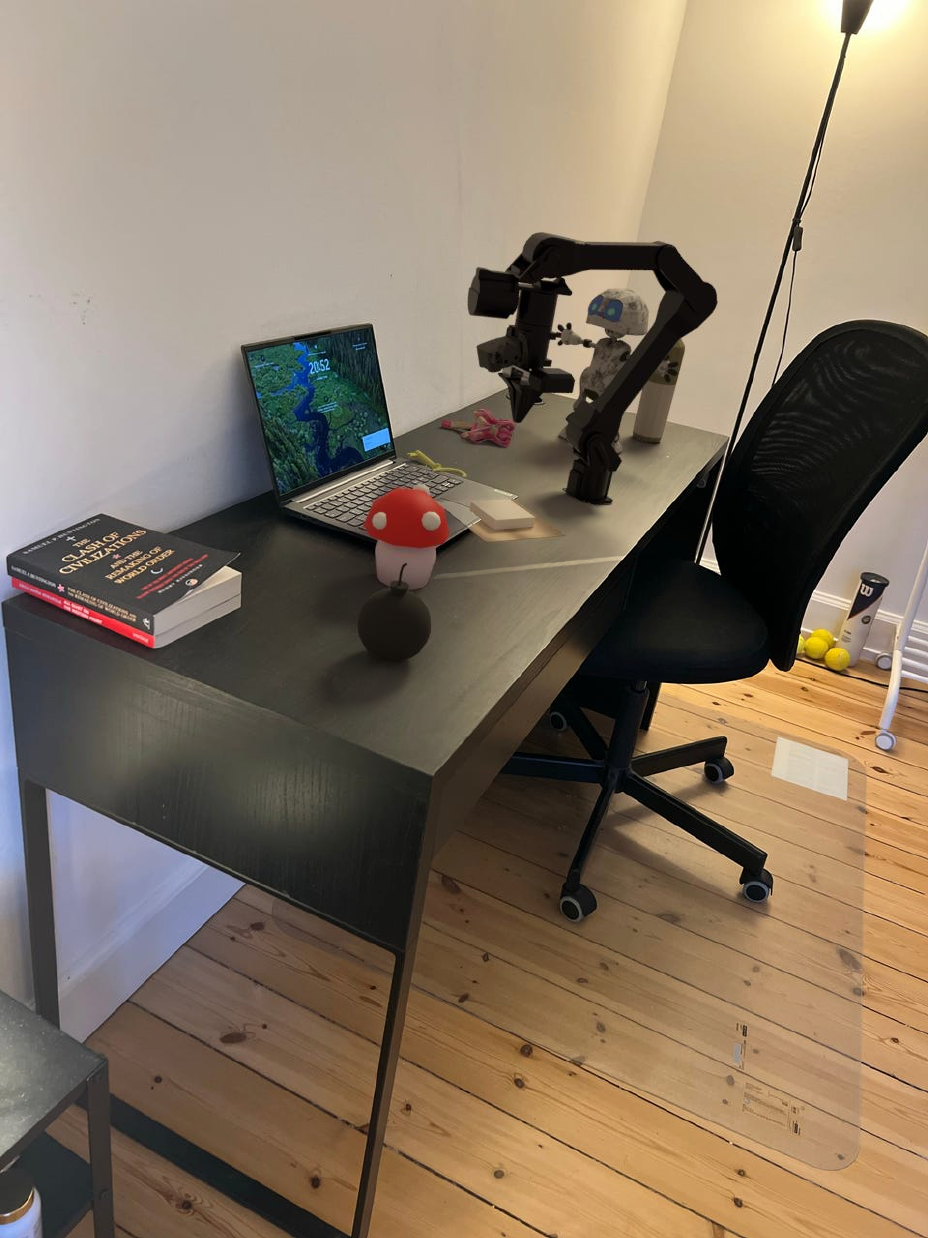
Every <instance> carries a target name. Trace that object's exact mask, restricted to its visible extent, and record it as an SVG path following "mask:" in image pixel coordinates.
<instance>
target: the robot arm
mask: <svg viewBox="0 0 928 1238" xmlns="http://www.w3.org/2000/svg"><path fill="white" fill-rule="evenodd" d="M586 271H652V272H653V274H654V276H655V279H656V280H657V281H658V282H657V283H658V284H659V285H660V287H661V288H662V289H663V290H664V292H665V293H664V295H663V296H662V299H660V302H659V304H658V309H657V313H656V316H655V317H656V318H655V321H654V322H653V323H652V324H653V325H652V326H651V327H650V328H649V330H647V333H646V334H645V335H643V338H642V339H641V341H640V342H639V343H638V345H637V346H636V347H635V349H634V350H633V351H632V352H631V354H630V357H629V358H628V359H627V361H626V362H625V363H624V365H623V366H622V368H621V369H620V370H619V372H618V373H617V374H616V376H615V377H614V378H613V380H612V381H611V382H610V384H609V385H608V386H607V388H606V389H605V391H604V392H603V393H602V395H601V396H600V397H599V398H597V399H596V400H594V401H592V400H591V402H588V401H587V399H586V400H585V399H582V400H581V402H580V403H579V405H578V407H577V409H576V410H575V412H574V411H573V412H574V413H573V414H572V415H570V416H569V417H568V418H567V419H568V420H569V423H568V422H567V424H566V425H567V426H566V425H565V426H566V438H567V441H568V443H569V444H570V445H571V447H572V453H573V455H575V456H576V457H578V458H577V459H574V460H573V462H572V468H571V469H570V470H569V474H568V479H567V483H566V487H563V488H562V489H561V490H563V491H564V492H565V493H566V494H568V495H569V496H571V497H573V498H574V499H577V500H578V501H580V502H582V503H589V504H590V505H597V504H599V505H601V504H612V503H613V501H614V500H613V499H612V498H611V497H609V496H608V495H609V491H610V486H611V482H612V478H613V473H614V472H615V473H616V472H617V470H618V469H619V467H620V466H621V464H622V462H623V461H622V458H621V456H619V453H618V454H617V453H616V451H615V450H614V448H613V447H612V444H613V442H614V440H615V438H616V436H617V434H618V432H619V431H620V428H621V423H622V419H623V416H624V414H625V412H626V411H627V410H628V408H629V407H630V406H631V405H632V403H633V402H634V400H636V398H637V396H638V395H639V394H640V393H641V391H642V388H643V387H644V386H645V384H646V383H647V382H648V380H649V379H650V378H651V376H652V375H653V374H654V372H655V371H656V370H657V368H658V367H659V366H660V364H661V363H662V362H663V360H664V359H665V358H666V356H667V355H668V354H669V352H670V351H671V350H672V348H673V347H674V346H675V344H676V343H677V342H678V341H679V340H680V339H682V338H684V337H686V336H688V335H689V334H691V333H692V332H694V331H695V330H697V329H698V328H699V327H700V326H701V325H702V324H703V323H704V322H706V320H708V318H709V317H710V316H711V315H712V314H713V313H714V311H716V308H717V306H718V302H719V301H718V293H717V290H716V288H715V287H714V285H713V284H712V283H710V282H708V281H705V280H703V279H702V278H701V276H700V275H699V274H698V273H697V272H696V270H694V268H693V267H692V266H691V265H690V264H689V263H688V262H687V261H686V260H685V259H684V258H683V256H682V255H681V254H680V252H679V251H678V248H677V247H676V246H675V245H673V244H671V243H668V242H665V241H661V240H656V241H652V242H644V241H643V242H637V241H636V242H634V241H633V242H632V241H631V242H630V241H628V242H627V241H626V242H625V241H583V240H579V239H574V238H572V237H571V238H570V237H565V236H562V235H558V234H553V233H549V232H544V231H539V232H535V233H532V234H531V235H530V236H529V237H528V238H527V239H526V241H525V242H524V245H523V247H522V251H521V253H520V254H519V255H518V256H517V257H515V259H514V261H512V262H511V264H510V265H509V266H508V267H507V268H506V269H505V271H502V270H501V271H500V270H492V269H489V268H486V267H481V266H480V267H479V266H478V267H476V269H475V275H474V276H473V277H472V280H471V282H470V283H471V284H470V287H468V293H467V311H468V315H469V316H471V317H473V316H474V317H483V318H490V319H492V318H493V319H501V320H508V319H509V318H510V316H514V315H515V314H516V315H515V319H514V320H515V321H514V324H508V327H507V328H506V331H505V335H504V336H501V337H496V338H493V339H490V340H488V341H485V342H484V341H483V342H482V343H479V344H477V345H476V351H477V360H478V366H479V367H480V368H481V369H483V368H484V369H486V370H487V371H488V372H489V373H494V374H495V373H497V374H498V377H500V379H502V380H503V382H504V383H505V385H506V386H507V389H508V395H509V401H510V408H511V409H510V410H511V416H512V417H511V418H512V421H513V422H514V423H515V424H521V423H522V422H523V421H524V419H525V417H526V416H527V415H528V414H529V413H530V411H531V409H532V408H533V406H534V405H535V404H536V402H537V401H538V400H539V398H540V397H541V396H542V395H543V394H573V393H574V388H575V385H576V379H575V377H574V375H573V374H572V373H571V372H568V371H566V370H564V369H561V368H560V367H552V364H553V363H552V362H553V360H552V359H550V358H549V357H548V353H549V347H550V342H551V341H556V340H557V337H556V336H557V333H556V332H554V331H552V330H553V326H554V321H555V320H554V319H555V316H556V315H555V314H556V309H557V304H558V303H557V302H558V297H559V296H569V297H572V295H573V291H572V289H571V288H570V287H569V285H568V284H567V282H566V279H565V278H564V277H568V276H573V275H576V274H578V273H582V272H586ZM546 279H549V280H546ZM551 279H553V280H551ZM501 371H502V372H501ZM619 433H620V432H619Z"/></svg>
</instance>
